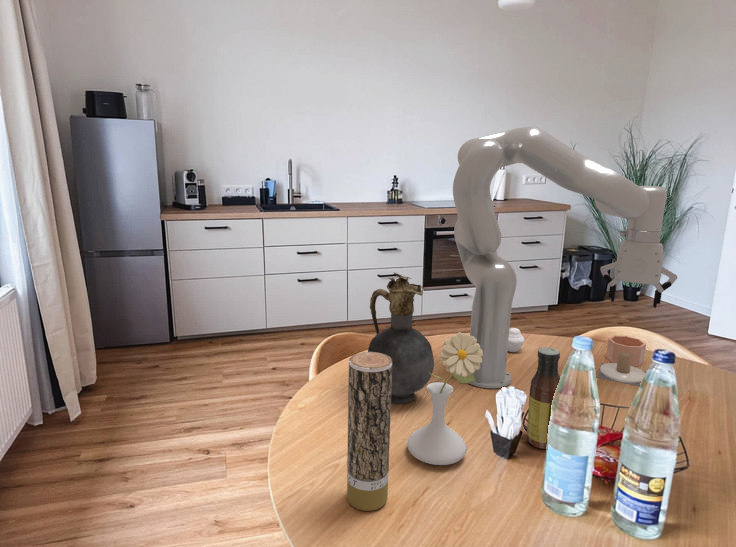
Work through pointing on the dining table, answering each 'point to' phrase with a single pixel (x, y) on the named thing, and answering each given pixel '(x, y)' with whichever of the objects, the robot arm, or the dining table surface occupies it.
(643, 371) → the mat
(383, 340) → the pitcher
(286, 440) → the dining table surface
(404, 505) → the dining table surface
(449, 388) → the flower in vase
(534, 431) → the sauce bottle
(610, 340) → the bowl
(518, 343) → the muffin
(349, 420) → the paper tube
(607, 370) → the lid
